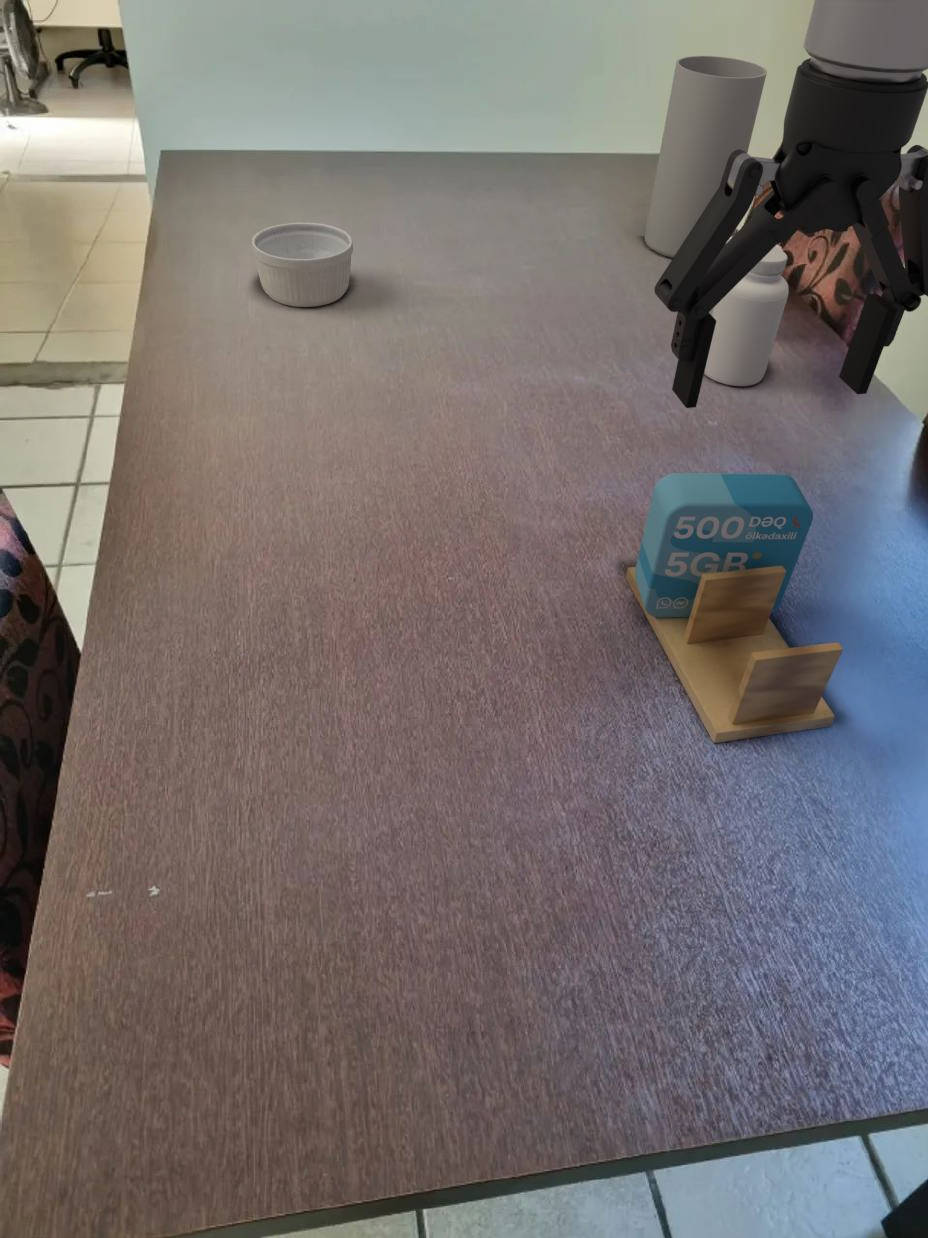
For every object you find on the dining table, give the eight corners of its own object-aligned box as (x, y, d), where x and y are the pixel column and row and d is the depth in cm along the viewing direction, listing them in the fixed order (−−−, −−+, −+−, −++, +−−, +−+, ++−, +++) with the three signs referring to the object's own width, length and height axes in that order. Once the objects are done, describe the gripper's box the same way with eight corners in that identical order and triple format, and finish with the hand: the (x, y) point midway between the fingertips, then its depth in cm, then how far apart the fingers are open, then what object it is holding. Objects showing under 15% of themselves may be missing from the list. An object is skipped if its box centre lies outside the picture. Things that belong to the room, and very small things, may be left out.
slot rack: (725, 567, 88) (747, 495, 83) (830, 726, 74) (866, 652, 68) (625, 577, 86) (641, 504, 81) (713, 743, 72) (740, 668, 66)
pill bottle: (771, 369, 118) (807, 250, 108) (752, 395, 113) (787, 272, 103) (711, 351, 121) (741, 233, 111) (690, 375, 116) (719, 254, 106)
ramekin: (238, 300, 125) (232, 248, 120) (283, 265, 134) (279, 215, 129) (329, 319, 122) (327, 266, 117) (369, 281, 131) (368, 231, 127)
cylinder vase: (725, 266, 142) (770, 81, 126) (642, 257, 144) (676, 72, 127) (721, 236, 152) (763, 60, 135) (644, 227, 153) (676, 52, 136)
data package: (641, 618, 80) (669, 504, 72) (630, 584, 84) (656, 471, 76) (776, 618, 81) (819, 505, 73) (761, 584, 85) (800, 472, 77)
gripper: (1009, 48, 60) (892, 356, 74) (642, 49, 55) (593, 378, 69) (1091, 79, 54) (947, 404, 69) (692, 82, 50) (627, 431, 64)
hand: (769, 392), depth 69 cm, fingers open, 13 cm apart
